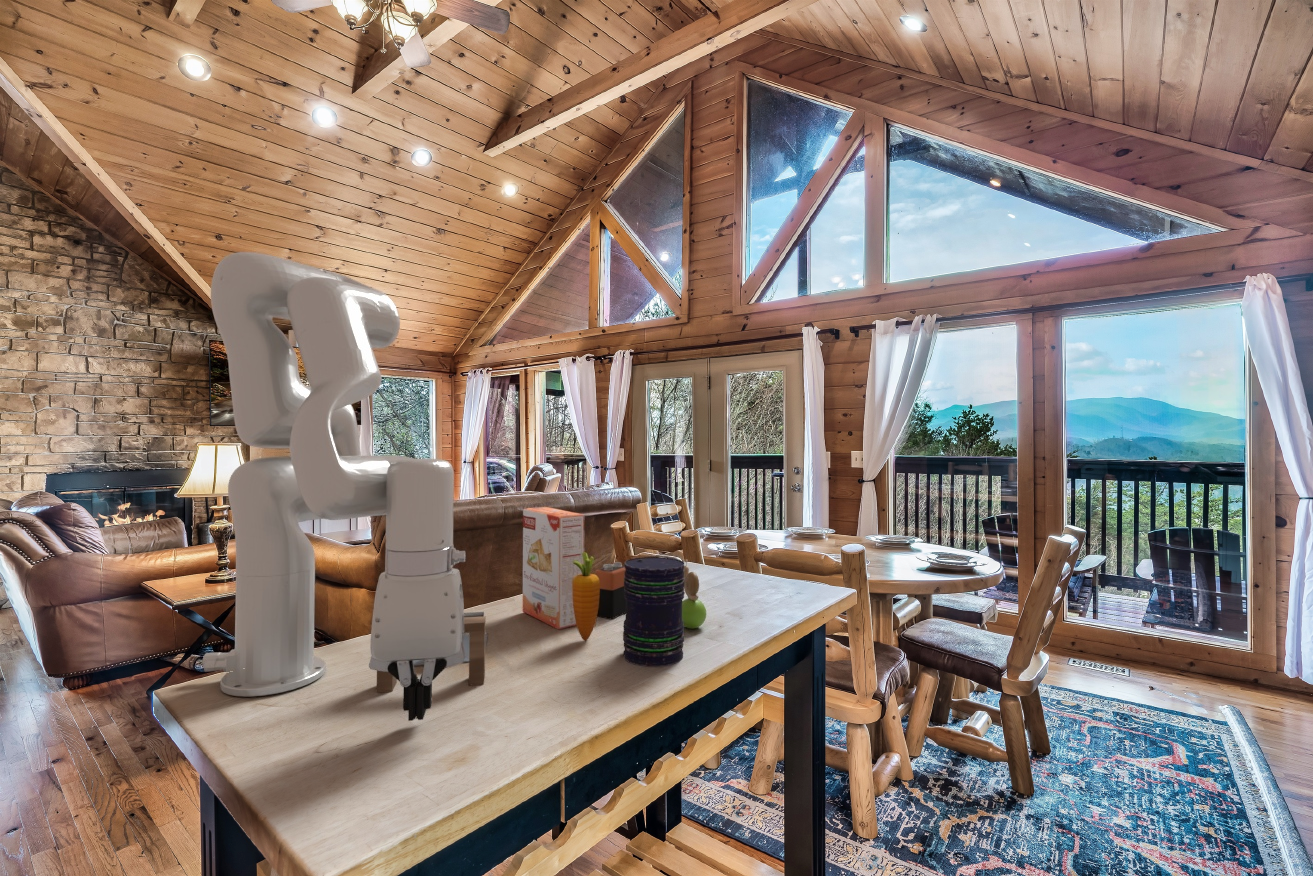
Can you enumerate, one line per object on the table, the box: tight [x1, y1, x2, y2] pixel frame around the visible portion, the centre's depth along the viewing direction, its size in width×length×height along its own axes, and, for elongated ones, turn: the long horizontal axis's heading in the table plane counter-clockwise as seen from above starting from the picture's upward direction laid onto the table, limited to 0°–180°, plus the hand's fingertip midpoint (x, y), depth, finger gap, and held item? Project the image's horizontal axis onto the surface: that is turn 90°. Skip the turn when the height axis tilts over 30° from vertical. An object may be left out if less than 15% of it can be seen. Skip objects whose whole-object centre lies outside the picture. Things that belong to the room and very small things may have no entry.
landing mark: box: [413, 632, 489, 667], centre depth 98 cm, size 13×13×1 cm
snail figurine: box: [681, 559, 707, 629], centre depth 112 cm, size 5×6×12 cm
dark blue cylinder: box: [622, 556, 686, 668], centre depth 97 cm, size 10×10×15 cm
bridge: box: [376, 615, 487, 693], centre depth 84 cm, size 3×14×9 cm, turn 103°
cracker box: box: [522, 506, 585, 630], centre depth 116 cm, size 14×6×21 cm, turn 40°
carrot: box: [572, 551, 600, 642], centre depth 103 cm, size 5×5×15 cm
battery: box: [594, 561, 626, 620], centre depth 119 cm, size 4×7×10 cm, turn 151°
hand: (417, 714), depth 72 cm, fingers closed
